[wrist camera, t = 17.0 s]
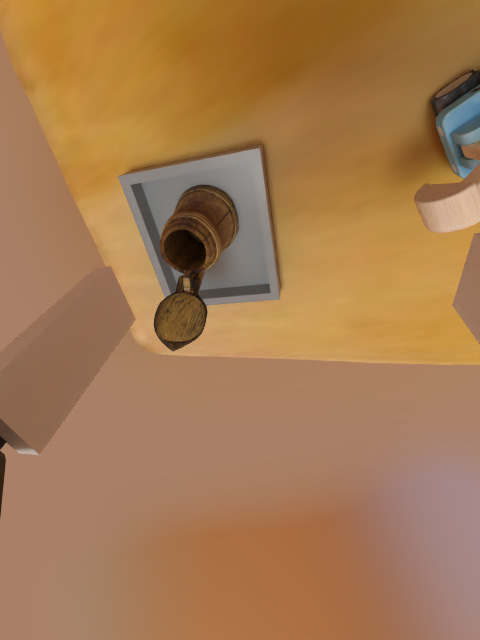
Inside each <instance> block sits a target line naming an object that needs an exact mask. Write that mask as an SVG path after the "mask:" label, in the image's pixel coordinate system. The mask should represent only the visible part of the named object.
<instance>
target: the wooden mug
mask: <svg viewBox="0 0 480 640" xmlns="http://www.w3.org/2000/svg"><path fill="white" fill-rule="evenodd" d="M237 232H238V216H237V212H236V209H235V206H234V203H233V201H232V199H231V198H230V197H229V196H228V195H227V194H226V192H224V191H222V190H220V189H219V188H217V187H213V186H210V185H197V186H193V187H191V188H189V189H188V190H186V191H185V192H184V193H183V194H182V195H181V197H180V198H179V200H178V203H177V205H176V208H175V211H174V213H173V215H172V216H171V217H170V218H169V219H168V221H167V222H166V223H165V225H164V228H163V230H162V233H161V239H160V252H161V256H162V258H163V259H164V261H165V262H166V263H167V264H168V265H170V266H171V267H172V268H173V269H175V270H177V271H179V272H181V273H183V274H184V275H182V276H179V278H178V283H177V287H176V292H174V293H173V294H171V295H169V296H167V297H166V298H165V299H164V300H163V301H161V302H160V304H159V306H158V308H157V311H156V313H155V318H154V328H155V332H156V334H157V336H158V338H159V339H160V340H161V342H162V343H163V344H164V345H166V346H167V347H168V348H169V349H170V350H172V351H175V350H177V349H179V348H182V347H184V346H185V345H187V344H189V343H191V342H192V341H194V340H195V339H197V338H198V337H199V336H200V335H201V334H202V331H203V329H204V326H205V323H206V318H207V308H206V304H205V303H204V301H203V300H202V299H201V297H200V296H199V295H198V292H199V290H200V287H201V284H202V280H203V276H204V272H205V270H206V269H208V268H210V267H211V266H213V265H214V264H215V263H216V262H217V261H218V259H219V257H220V255H221V252H222V251H224V250H226V249H227V248H228V247H229V246H230V245H231V244H232V242H233V241H234V239H235V236H236V234H237Z"/></svg>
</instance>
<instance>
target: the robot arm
mask: <svg viewBox="0 0 480 640" xmlns="http://www.w3.org/2000/svg"><path fill="white" fill-rule="evenodd" d="M453 307H454V308H455V310H456V311H457V312H458V314H459V315H460V317H461V318H462V320H463V321H464V322H465V324H466V325H467V327H468V328H469V330H470V331H471V332H472V334H473V335H474V337H475V338H476V340H477V341H478V342H479V344H480V233H474V236H473V239H472V243H471V246H470V249H469V253H468V256H467V259H466V262H465V266H464V269H463V272H462V276H461V279H460V282H459V285H458V289H457V292H456V295H455V298H454V302H453ZM135 320H136V319H135V317H134V314H133V312H132V310H131V308H130V306H129V304H128V302H127V300H126V298H125V295H124V293H123V291H122V289H121V287H120V285H119V283H118V281H117V279H116V276H115V274H114V272H113V270H112V268H111V267H102V268H95V269H94V270H93V271H91V272H90V273H89V274H88V275H87V276H86V277H84V278H83V279H82V280H81V281H80V282H79V283H78V284H77V285H76V286H74V287H73V288H72V289H71V290H70V291H69V292H67V294H65V295H64V296H63V297H62V298H61V299H60V300H58V301H57V302H56V303H55V304H54V305H53V306H52V307H50V308H49V309H48V310H47V311H46V312H45V313H44V314H43V315H41V316H40V317H39V318H38V319H37V320H36V321H35V322H33V323H32V324H31V325H30V326H29V327H28V328H27V329H26V330H25V331H23V332H22V333H21V334H20V335H19V336H18V337H16V338H15V339H14V340H13V341H12V342H11V343H10V344H9V345H7V346H6V347H5V348H4V349H3V350H2V351H1V352H0V449H1V448H2V447H3V445H4V444H5V443H6V442H7V443H8V444H9V445H10V446H11V447H12V448H13V449H15V450H16V451H17V452H18V453H21V454H35V455H40V454H41V452H42V451H43V449H44V448H45V447H46V445H47V444H48V442H49V441H50V439H51V438H52V437H53V435H54V434H55V433H56V431H57V429H58V428H59V427H60V425H61V424H62V423H63V421H64V420H65V418H66V417H67V416H68V414H69V413H70V411H71V410H72V409H73V407H74V406H75V404H76V403H77V401H78V400H79V398H80V397H81V396H82V394H83V393H84V391H85V390H86V389H87V387H88V386H89V384H90V383H91V382H92V380H93V379H94V377H95V376H96V375H97V373H98V372H99V370H100V369H101V367H102V366H103V365H104V363H105V362H106V361H107V359H108V357H109V356H110V355H111V353H112V352H113V351H114V349H115V348H116V346H117V345H118V344H119V342H120V341H121V339H122V338H123V337H124V335H125V334H126V332H127V331H128V329H129V328H130V327H131V325H132V324H133V322H134V321H135ZM5 462H6V459H5V455H4V454H3V453H2V452H1V451H0V513H1V504H2V494H3V483H4V473H5Z"/></svg>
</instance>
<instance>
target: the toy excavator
mask: <svg viewBox="0 0 480 640" xmlns="http://www.w3.org/2000/svg"><path fill="white" fill-rule="evenodd" d="M431 104H432V107H433V109H434V112H435V116H436V117H437V118H436V127H437V130H438V133H439V136H440V139H441V141H442V144H443V147H444V149H445V152H446V155H447V158H448V160H449V163H450V166H451V168H452V170H453V172H454V173H455V174H456V175H458V176H459V177H461V178H465V179H464V180H463V181H462V182H460V183H450V184H432V185H430V184H424V185H423V186H422V187H421V188H420V189H419V190H418V191H417V193H416V194H415V197H414V201H415V204H416V206H417V208H418V210H419V213H420V215H421V217H422V220H423V222H424V224H425V226H426V228H427V229H428V230H430V231H432V232H437V233H445V232H453V231H458V230H461V229H464V228H467V227H469V226H472V225H474V224H476V223H478V222H480V71H479V70H477V71H474V70H472V71H470V72H469V73H467V74H465V75H464V76H462V77H460V78H457V80H455V81H454V82H452V83H451V84H448V85H446V86H445V87H444V88H443V89H441V90H440V91H439V92H437V93H436V94H435V96H433V98H432V99H431Z"/></svg>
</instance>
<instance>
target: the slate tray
mask: <svg viewBox="0 0 480 640" xmlns="http://www.w3.org/2000/svg"><path fill="white" fill-rule="evenodd" d="M118 178H119V180H120V183H121V185H122V188H123V190H124V193H125V196H126V198H127V201H128V203H129V206H130V208H131V211H132V214H133V216H134V219H135V221H136V224H137V227H138V229H139V232H140V234H141V237H142V239H143V242H144V245H145V247H146V250H147V252H148V255H149V257H150V260H151V263H152V265H153V268H154V270H155V273H156V275H157V278H158V281H159V283H160V286H161V288H162V291H163V294H164V296H165V298H166V297H167V296H169V295H171V294H173V293H174V292H176V287H177V283H178V278H179V276H182V275H184V274H183V273H181V272H179V271H177V270H175V269H173V268H172V267H171V266H170V265H168V264H167V263H166V262H165V261H164V259H163V258H162V256H161V252H160V239H161V233H162V230H163V228H164V225H165V223H166V222H167V221H168V219H169V218H170V217H171V216H172V215H173V213H174V211H175V208H176V205H177V203H178V200H179V198H180V197H181V195H182V194H183V193H184V192H185V191H186V190H188V189H189V188H191V187H193V186H197V185H210V186H213V187H217V188H219V189H220V190H222V191H224V192H226V194H227V195H228V196H229V197H230V198H231V199H232V201H233V203H234V206H235V209H236V212H237V216H238V232H237V234H236V236H235V239H234V241H233V242H232V244H231V245H230V246H229V247H228V248H227V249H226V250H224V251H222V252H221V255H220V257H219V259H218V261H217V262H216V263H215V264H214V265H213V266H211V267H210V268H208V269H206V270H205V272H204V276H203V280H202V284H201V287H200V290H199V292H198V295H199V296H200V297H201V299H202V300H203V301H204V303H205V304H206V305H217V304H229V303H241V302H253V301H265V300H277V299H280V290H281V286H280V278H279V270H278V263H277V255H276V247H275V239H274V231H273V223H272V215H271V207H270V199H269V191H268V184H267V176H266V168H265V160H264V152H263V144H260V145H256V146H251V147H246V148H241V149H236V150H231V151H226V152H221V153H216V154H211V155H206V156H202V157H197V158H192V159H187V160H182V161H177V162H172V163H167V164H162V165H157V166H152V167H148V168H143V169H138V170H133V171H129V172H127V173H125V174H122V175H120V176H118Z"/></svg>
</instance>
